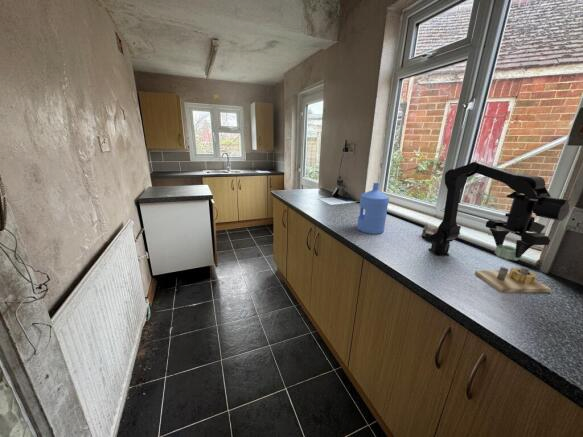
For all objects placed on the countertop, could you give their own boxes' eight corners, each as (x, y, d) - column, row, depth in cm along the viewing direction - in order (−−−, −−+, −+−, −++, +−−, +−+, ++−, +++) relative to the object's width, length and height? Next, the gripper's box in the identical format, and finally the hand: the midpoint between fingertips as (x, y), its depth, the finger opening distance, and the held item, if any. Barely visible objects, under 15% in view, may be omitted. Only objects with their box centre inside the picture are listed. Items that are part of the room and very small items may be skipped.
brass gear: (528, 286, 84) (531, 279, 83) (504, 276, 90) (507, 269, 90) (538, 282, 87) (541, 275, 86) (514, 272, 93) (517, 265, 92)
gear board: (500, 292, 83) (505, 277, 81) (474, 273, 95) (478, 260, 93) (549, 292, 84) (555, 277, 82) (517, 274, 95) (522, 260, 93)
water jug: (386, 228, 143) (393, 182, 134) (380, 236, 130) (388, 187, 121) (361, 223, 151) (366, 180, 142) (353, 230, 138) (358, 183, 129)
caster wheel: (440, 248, 123) (419, 242, 127) (440, 237, 131) (421, 231, 135) (445, 238, 119) (424, 232, 123) (445, 227, 128) (425, 222, 131)
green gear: (506, 260, 83) (508, 252, 82) (489, 251, 90) (491, 244, 89) (525, 260, 83) (528, 252, 83) (507, 251, 90) (509, 244, 89)
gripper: (574, 220, 73) (556, 265, 78) (517, 205, 91) (505, 242, 95) (540, 220, 73) (524, 265, 77) (489, 205, 90) (479, 242, 95)
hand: (507, 253), depth 86 cm, fingers closed on green gear, 7 cm apart
